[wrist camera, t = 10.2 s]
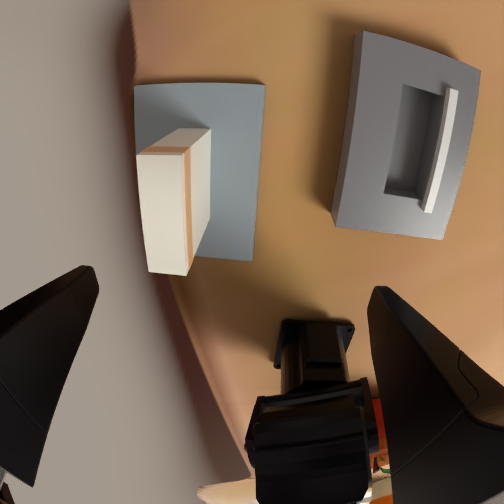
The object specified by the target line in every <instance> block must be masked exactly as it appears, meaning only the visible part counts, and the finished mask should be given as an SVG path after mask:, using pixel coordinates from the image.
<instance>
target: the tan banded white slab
mask: <svg viewBox="0 0 504 504" xmlns="http://www.w3.org/2000/svg"><path fill="white" fill-rule="evenodd" d="M210 159H211V129H202V128H179V129H177V130H175V131H174V132H172V133H170V134H169V135H167V136H165V137H164V138H162V139H161V140H159V141H157V142H156V143H154V144H153V145H151V146H148V147H147V148H145V149H144V150H142V151H141V152H140V153H139V154H137V155H136V160H137V174H138V187H139V198H140V208H141V217H142V226H143V234H144V242H145V250H146V257H147V264H148V270H149V272H155V273H164V274H173V275H182V276H187V273H188V270H189V269H190V267H191V264H192V262H193V258H194V256H195V253H196V251H197V248H198V246H199V243H200V241H201V239H202V236H203V234H204V231H205V229H206V227H207V224H208V222H209V219H210Z"/></svg>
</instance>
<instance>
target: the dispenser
mask: <svg viewBox="0 0 504 504" xmlns="http://www.w3.org/2000/svg"><path fill="white" fill-rule="evenodd" d="M480 75H481V70H479V69H476V68H474V67H472V66H470V65H467V64H465V63H463V62H460V61H458V60H456V59H453V58H451V57H448V56H446V55H443V54H440V53H438V52H435V51H432V50H429V49H426V48H424V47H421V46H418V45H414V44H411V43H408V42H405V41H401V40H398V39H395V38H391V37H387V36H384V35H380V34H376V33H372V32H367V31H361V32H359V33H357V34H355V36H354V48H353V59H352V70H351V79H350V88H349V97H348V105H347V113H346V121H345V128H344V135H343V142H342V149H341V156H340V162H339V168H338V174H337V180H336V186H335V192H334V198H333V203H332V209H331V216H332V219H333V221H334V224H335V227H339V228H349V229H358V230H366V231H375V232H384V233H392V234H400V235H408V236H416V237H424V238H431V239H439V240H442V239H443V236H444V233H445V230H446V227H447V224H448V221H449V218H450V215H451V212H452V209H453V205H454V202H455V199H456V195H457V192H458V188H459V185H460V181H461V177H462V174H463V170H464V166H465V162H466V157H467V153H468V149H469V144H470V139H471V134H472V129H473V124H474V118H475V112H476V106H477V99H478V92H479V84H480Z"/></svg>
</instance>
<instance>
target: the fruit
mask: <svg viewBox="0 0 504 504" xmlns="http://www.w3.org/2000/svg"><path fill="white" fill-rule="evenodd" d="M372 402H373V407H374V411H375V416H376V422H377V429H378V437H379V448H380V452H379V453H375V454H371V455H369V456H370V465H371V468H373V473H375V472H378V471H379V468H380V469H381V471H382V472H383V473H388V474H390V469H383V468H381V466H384V465H387V464H389V456H388V449H387V441H386V434H385V427H384V421H383V414H382V408H381V402H380V398H377V399H372Z"/></svg>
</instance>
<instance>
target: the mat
mask: <svg viewBox="0 0 504 504" xmlns="http://www.w3.org/2000/svg"><path fill="white" fill-rule="evenodd" d="M264 98H265V85H261V84H243V83H166V84H149V85H137V86H134V120H135V145H136V155H137V154H139V153H140V152H141V151H142V150H144V149H145V148H147V147H148V146H151V145H153V144H154V143H156V142H157V141H159V140H161V139H162V138H164V137H165V136H167V135H169V134H170V133H172V132H174V131H175V130H177V129H179V128H202V129H211V159H210V219H209V222H208V224H207V227H206V229H205V231H204V234H203V236H202V239H201V241H200V243H199V246H198V248H197V251H196V253H195V256H198V257H209V258H220V259H231V260H242V261H252V260H253V248H254V235H255V221H256V208H257V194H258V180H259V167H260V153H261V139H262V126H263V112H264ZM136 162H137V160H136ZM137 176H138V174H137ZM138 188H139V187H138ZM139 199H140V198H139ZM140 209H141V208H140ZM141 219H142V217H141ZM142 227H143V226H142ZM143 235H144V234H143ZM144 243H145V242H144Z"/></svg>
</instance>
